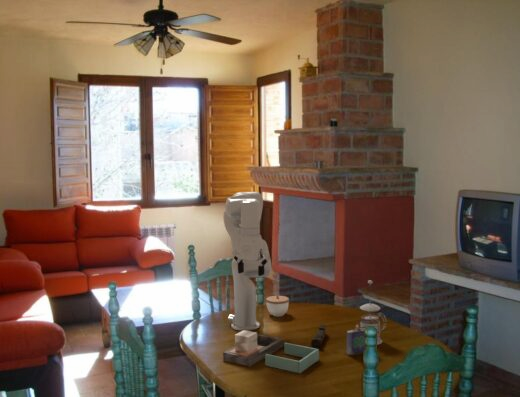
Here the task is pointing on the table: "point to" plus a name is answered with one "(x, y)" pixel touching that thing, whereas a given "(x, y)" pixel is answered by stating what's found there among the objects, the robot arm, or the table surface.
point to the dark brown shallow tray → (254, 351)
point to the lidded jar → (277, 305)
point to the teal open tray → (293, 365)
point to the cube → (246, 341)
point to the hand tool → (318, 337)
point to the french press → (371, 317)
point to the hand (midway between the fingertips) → (251, 274)
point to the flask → (355, 341)
